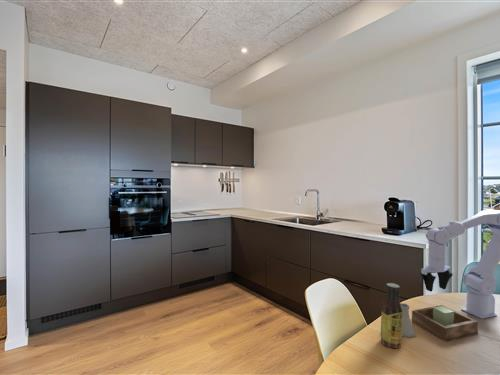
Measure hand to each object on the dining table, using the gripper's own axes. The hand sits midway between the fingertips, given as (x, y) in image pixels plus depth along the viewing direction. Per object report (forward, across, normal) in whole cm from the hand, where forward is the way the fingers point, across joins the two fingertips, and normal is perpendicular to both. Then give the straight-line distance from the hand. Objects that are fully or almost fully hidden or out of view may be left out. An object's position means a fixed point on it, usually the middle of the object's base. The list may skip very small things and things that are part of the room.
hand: (435, 289), depth 110 cm
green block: (+9, +9, +10) cm, 16 cm away
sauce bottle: (+10, +36, +12) cm, 39 cm away
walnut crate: (+9, +9, +10) cm, 16 cm away
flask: (+10, +26, +8) cm, 29 cm away
